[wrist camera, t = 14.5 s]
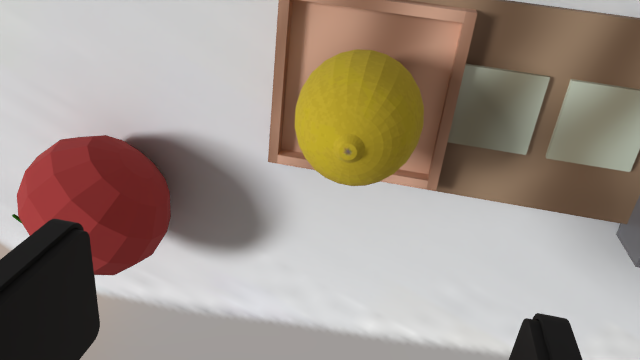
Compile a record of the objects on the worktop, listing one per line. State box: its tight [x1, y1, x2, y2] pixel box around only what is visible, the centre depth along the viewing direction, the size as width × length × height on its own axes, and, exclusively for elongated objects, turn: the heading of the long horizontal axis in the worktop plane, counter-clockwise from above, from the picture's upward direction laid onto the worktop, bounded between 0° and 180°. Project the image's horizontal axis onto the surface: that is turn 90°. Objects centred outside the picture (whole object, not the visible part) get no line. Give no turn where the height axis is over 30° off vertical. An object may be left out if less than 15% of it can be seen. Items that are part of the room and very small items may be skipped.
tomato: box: [12, 135, 171, 275], centre depth 29 cm, size 8×8×8 cm
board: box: [268, 0, 640, 224], centre depth 26 cm, size 19×10×2 cm, turn 84°
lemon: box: [295, 49, 424, 186], centre depth 23 cm, size 6×6×8 cm
